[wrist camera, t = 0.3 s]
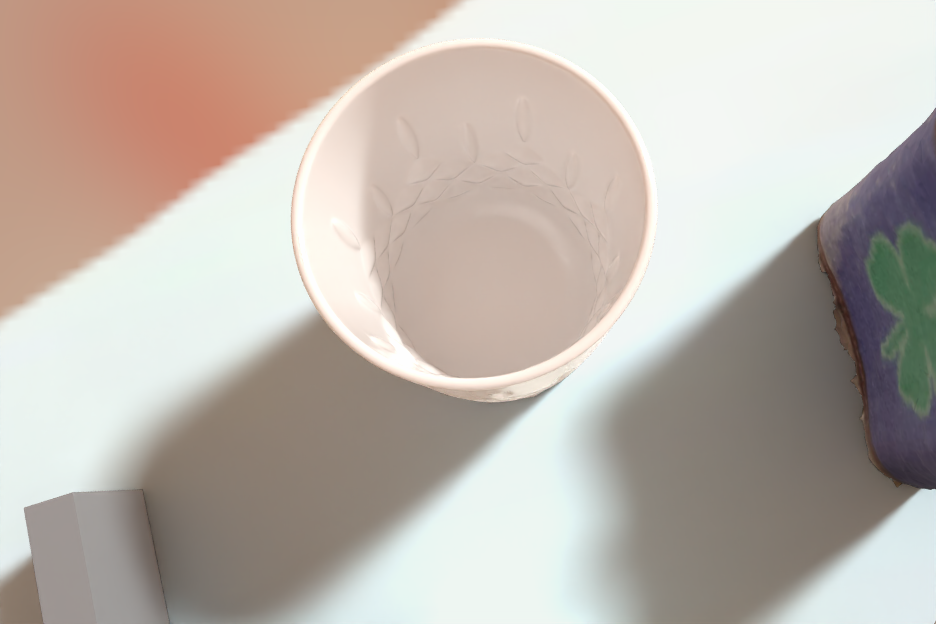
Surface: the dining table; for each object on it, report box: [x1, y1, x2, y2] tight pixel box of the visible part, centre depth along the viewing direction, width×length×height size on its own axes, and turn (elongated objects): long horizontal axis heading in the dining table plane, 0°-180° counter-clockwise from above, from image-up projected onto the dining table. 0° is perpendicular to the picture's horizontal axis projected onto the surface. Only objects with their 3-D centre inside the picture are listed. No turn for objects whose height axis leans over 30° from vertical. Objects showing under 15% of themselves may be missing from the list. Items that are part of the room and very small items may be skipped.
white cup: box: [291, 38, 657, 403], centre depth 22 cm, size 8×8×10 cm
